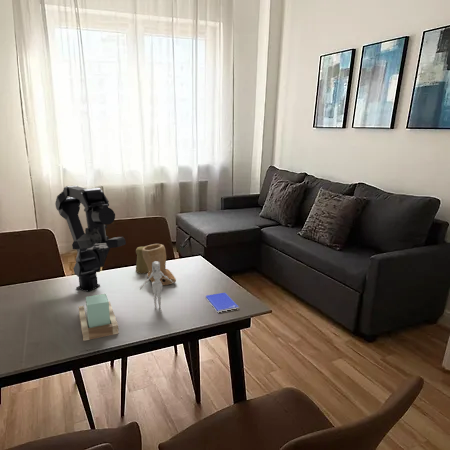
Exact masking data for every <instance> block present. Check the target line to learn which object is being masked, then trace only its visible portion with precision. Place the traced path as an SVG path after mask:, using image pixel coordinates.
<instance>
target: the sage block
mask: <svg viewBox="0 0 450 450" xmlns="http://www.w3.org/2000/svg"><path fill="white" fill-rule="evenodd" d="M109 301H110V300H109V298H108V295H107V293H103V294H95V295H89V296H85V303H86V304H85V305H86V320H87V326H88V328H92V327H97V326H102V325H107V324H110V313H109Z"/></svg>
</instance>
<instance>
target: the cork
mask: <svg viewBox="0 0 450 450" xmlns="http://www.w3.org/2000/svg"><path fill="white" fill-rule="evenodd" d="M144 247H145V246H138V247H136V249H135V254H136V255H137V256H136V263H135V264H136V265H135V273H137V274H148V272H149V269H148V266H147V264H146V262H145V260H144V258H143V253H142V249H143V248H144Z"/></svg>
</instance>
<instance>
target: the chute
mask: <svg viewBox="0 0 450 450" xmlns="http://www.w3.org/2000/svg"><path fill="white" fill-rule="evenodd" d="M108 301H109V313H110V324H107V325H102V326H97V327H92V328H88V320H87V315H86V313H85V307H84V305H79V306H78V315H79V323H80V328H81V333H82V340H83V341H85V342H86V341H89V340H93V339H98V338H104V337H109V336H113V335H117V334H120V333H119V324H118V321H117V318H116V315H115V312H114V310H113V307H112V304H111V301H110V300H108Z"/></svg>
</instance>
